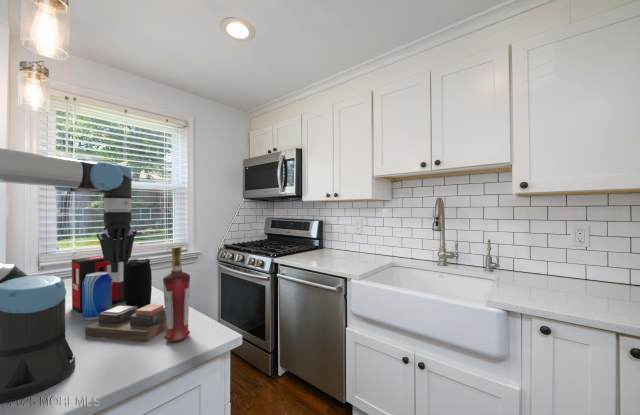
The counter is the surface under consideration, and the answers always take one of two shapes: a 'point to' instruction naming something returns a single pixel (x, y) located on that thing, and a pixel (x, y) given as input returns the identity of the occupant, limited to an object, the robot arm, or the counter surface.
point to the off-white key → (118, 309)
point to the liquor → (176, 300)
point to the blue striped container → (96, 294)
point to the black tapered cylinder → (138, 283)
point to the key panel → (127, 326)
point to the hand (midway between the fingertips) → (117, 281)
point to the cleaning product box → (92, 266)
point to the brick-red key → (149, 310)
